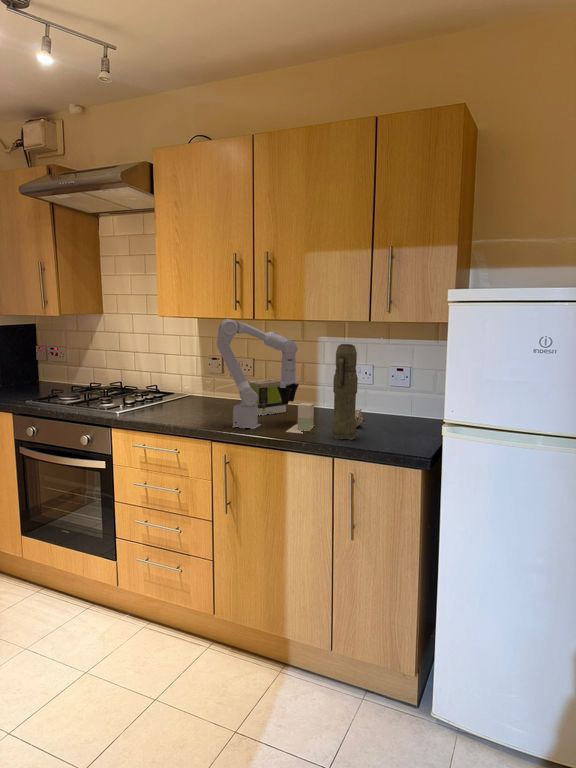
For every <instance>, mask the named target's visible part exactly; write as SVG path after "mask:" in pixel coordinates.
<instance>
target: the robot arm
mask: <svg viewBox="0 0 576 768" xmlns="http://www.w3.org/2000/svg"><path fill="white" fill-rule="evenodd" d="M277 333H278V332H276V331H268V332H264V331H263V330H260V329H258V328H256V327H254V326H252V325H249V324H247V323H244V322H242V321H241V322H240V321H239V320H238V321H237V320H235V319H234V320H233V319H231V318H225V319H222V321H221V322H220V324H219V326H218V328H217V338H216V348H217V349H218V351H219V354H220V355H221V358H222V359H223V362H224V363H225V365H226V367H227V369H228V371H229V373H230V374H231V376H232V379H233V380H234V383H235V385H236V387H237V390H238V391H239V398H240V400H241V401H240V403H238V404H236V403H235V405H234V406H233V410H232V428H235V427H239V428H238V429H245V428H250V429H249V430H254V429H257V428H258V427H260V426H261V425H262V424H261V423H258V417H259V416H258V404H257V401H258V395H257V393H256V392H255V391H254V390H253V389H252V388H251V387H250V385H249V383H248V380H247V377H246V376H245V374H244V372H243V370H242V368H241V365H240V364H239V362H238V360H237V358H236V356H235V354H234V352H233V350H232V348H231V346H230V345H231V343H232V341H233V340H232V339H233V338H234V337H235V336H236V335H237V334H239V335H241V334H242V335H243V334H247V335H250V336H252V337H254V338H257V339H259V340H262V342H263V344H264V345H265V346H267V347H269V348H272V349H274V350H276V351H280V352H281V367H280V368H281V371H280V372H281V377H280V378H281V379H280V380H281V383H280V387H277V389H278V391H279V393H280V396H281V401H282V404H283V405H286V406H287V405H288V404H289V402H294V401H295V396H296V392H297V391H298V388H299V386H300V385H299V380H297V378H296V373H297V372H296V366H297V362H296V361H297V360H296V359H297V357H296V355H297V354H296V353H298V345H297V343H296V342H295V341H294V340H291V339H289V338H288V337H287V336H283V335H279V334H277Z"/></svg>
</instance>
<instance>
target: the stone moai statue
mask: <svg viewBox="0 0 576 768" xmlns="http://www.w3.org/2000/svg"><path fill="white" fill-rule="evenodd" d="M356 348H357V347H356V346H355V345H353V344H351V343H341V344H339V345H337V348H336V351H335V371H334V372H335V373H334V375H333V388H332V389H333V394H334V395H333V396H334V397H333V398H334V399H333V404H334V405H333V418H332V421H331V422H332V423H331V432H332V433H331V434H332V435H333V437H336V438H343V439H348V438H354V437H355V438H356V433H357V429H356V428H357V427H356V419H355V410H356V402H357V401H356V399H357V398H356V397H357V393H358V383H359V382H358V380H359V379H358V375H357V359H358V357H357V356H358V355H357V354H358V353H357V352H358V351H357V349H356Z"/></svg>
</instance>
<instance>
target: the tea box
mask: <svg viewBox="0 0 576 768" xmlns="http://www.w3.org/2000/svg"><path fill="white" fill-rule="evenodd" d="M247 381H248V380H247ZM248 383H249V385H250V387H251V388H252V389H253V390H254V391H255V392H256V393H257V395H258V401H257V404H258V415H259V416H258V417H261V416H260V415H262V416H267V414H269V415H274V414H275V413H276V414H281V413H287V405H283V404H282V401H281V396H280V393H279V391H278V389H277V387H280V383H281V379H275V378H269V379H268V378H267V379H259V380H249V381H248Z"/></svg>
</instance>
